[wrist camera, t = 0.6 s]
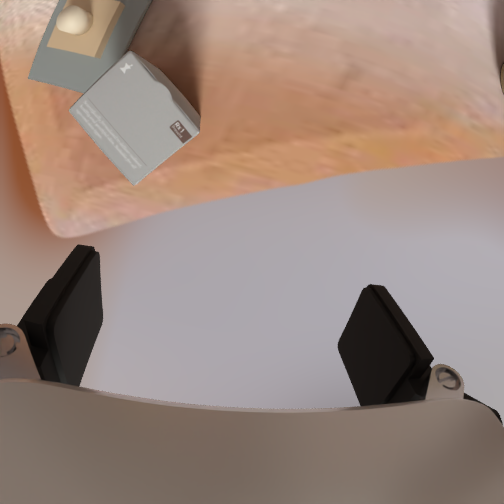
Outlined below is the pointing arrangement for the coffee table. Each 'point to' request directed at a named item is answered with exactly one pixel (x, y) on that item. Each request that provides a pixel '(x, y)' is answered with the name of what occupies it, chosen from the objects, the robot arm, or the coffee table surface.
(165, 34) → the coffee table surface
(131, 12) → the post board
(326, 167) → the coffee table surface
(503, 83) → the planter bowl
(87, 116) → the skincare box
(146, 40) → the coffee table surface
